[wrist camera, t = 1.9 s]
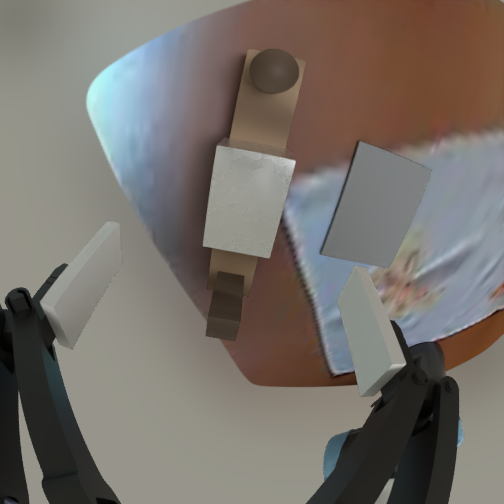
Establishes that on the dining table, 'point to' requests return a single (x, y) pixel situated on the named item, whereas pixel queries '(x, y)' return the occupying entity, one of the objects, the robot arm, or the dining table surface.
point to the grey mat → (375, 207)
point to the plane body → (262, 132)
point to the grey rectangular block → (247, 196)
